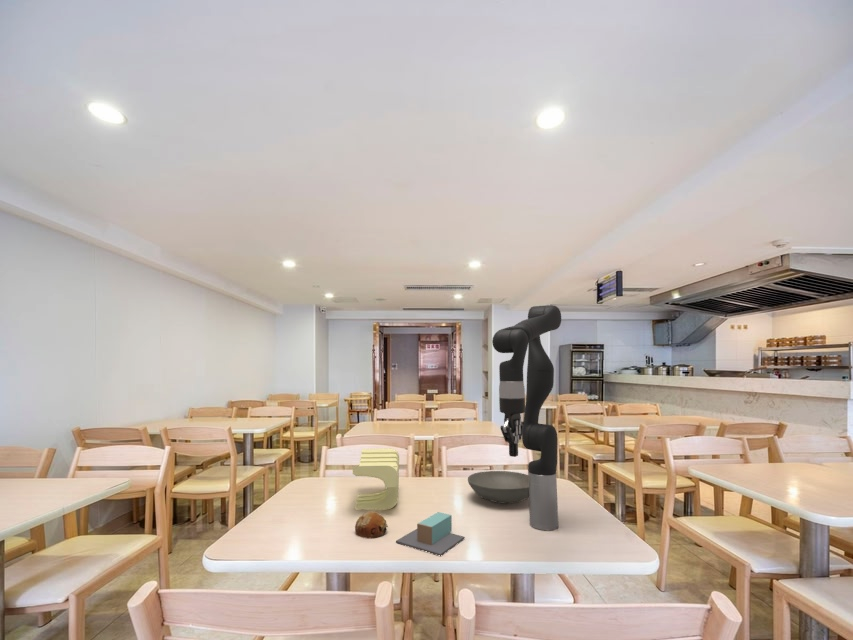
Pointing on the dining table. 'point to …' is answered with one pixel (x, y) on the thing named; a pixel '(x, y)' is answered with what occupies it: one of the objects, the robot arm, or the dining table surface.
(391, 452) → the slatted curved stool
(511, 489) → the bowl
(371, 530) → the bread roll
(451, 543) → the mat
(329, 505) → the dining table surface
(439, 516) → the teal block
